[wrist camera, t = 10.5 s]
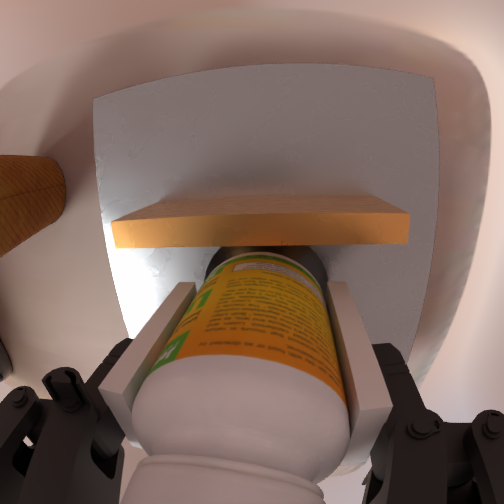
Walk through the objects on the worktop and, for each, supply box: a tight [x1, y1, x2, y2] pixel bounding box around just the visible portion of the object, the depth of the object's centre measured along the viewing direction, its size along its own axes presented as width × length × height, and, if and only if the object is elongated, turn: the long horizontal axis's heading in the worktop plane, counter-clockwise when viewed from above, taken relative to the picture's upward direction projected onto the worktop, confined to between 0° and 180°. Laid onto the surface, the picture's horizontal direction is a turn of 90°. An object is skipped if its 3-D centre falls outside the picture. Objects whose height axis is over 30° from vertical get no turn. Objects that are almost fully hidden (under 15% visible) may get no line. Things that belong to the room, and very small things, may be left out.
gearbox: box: [93, 63, 439, 365], centre depth 15 cm, size 17×21×10 cm
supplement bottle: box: [120, 252, 350, 504], centre depth 7 cm, size 5×5×10 cm
